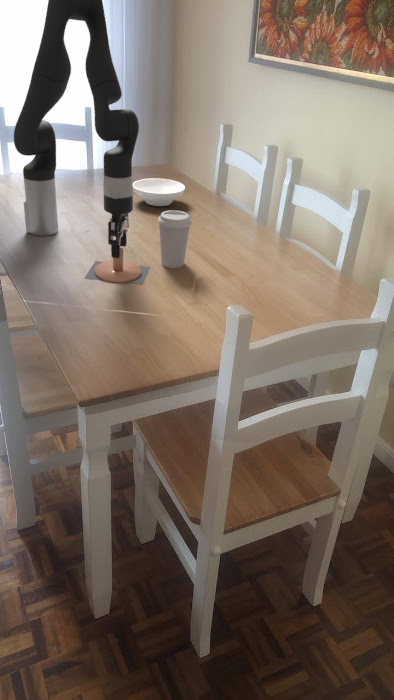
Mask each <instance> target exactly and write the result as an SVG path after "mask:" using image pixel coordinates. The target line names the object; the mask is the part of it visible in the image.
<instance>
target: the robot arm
mask: <svg viewBox="0 0 394 700" xmlns="http://www.w3.org/2000/svg"><path fill="white" fill-rule="evenodd" d="M46 7H47V9H46V14H45V20H44V25H43V26H44V27H43V32H42V36H41V41H40V44H39V48H38V51H37V55H36V58H35V62H34V65H33V69H32V75H31V78H30V83H29V86H28V89H27V94H26V97H25V100H24V102H23V106H22V108H21V111H20V114H19V116H18V118H17V121H16V124H15V126H14V130H13V144H14V147H15V149H16V151H17V152H18V154H20V155H22V156H34V157H33V158H32V160H31V161H30V162H28V163H27V164H25V165H24V166H23V169H22V173H23V185H24V195H25V201H24V202H23V210H24V211H23V212H24V220H25V221H24V222H25V223H24V224H25V231H26V233H29V234H31V235H33V236H42V237H44V236H45V237H46V236H47V237H48V236H52V235H55V234H57V233H58V232H59V221H58V203H57V189H56V188H57V187H56V177H55V176H56V175H55V174H56V173H55V172H56V168H57V143H56V142H57V140H56V139H57V138H56V132H55V130H54V128H53V126H52V124H51V123H50V122H49V121H47V120H44V118H45V116H46V115H48V113H49V112H50V111H51V110H52V109H53V108H54V106H55V105H57V103H58V102H59V101H60V100H61V98H62V97H63V96H64V94H65V92H66V91H67V87H68V84H69V81H70V77H71V73H72V64H71V60H70V57H69V53H68V50H67V47H66V44H65V32H66V28H67V24H68V22H69V20H73V21H80V22H81V21H82V22H84V23H85V24H86V27H87V30H88V32H89V33H88V34H89V44H88V50H87V54H86V57H85V74H86V78H87V81H88V84H89V87H90V91H91V95H92V98H93V100H92V101H93V110H94V129H95V132H96V134H97V136H98V137H99V139H101V140H102V141H104V142H116V141H117V142H118V143H117V144H116V146H115V147H112V148H111V149H108V150H106V151H105V152H104V153H103V181H102V182H103V185H102V186H103V209H104V211H105V212H106V213H109V214H111V218H110V219H109V221H108V223H107V225H108V227H107V228H108V229H107V231H108V232H107V233H108V235H107V236H108V237H107V238H108V241H107V243H108V245H110V246H111V247H110V249H111V252H110V253H111V255H110V256H111V258H112V259H113V258H119V257H120V248H121V247H126V246H127V244H128V243H127V233H128V229H129V227H130V226H129V213H131V212H132V211H133V210H134V189H133V183H134V182H133V175H132V172H133V171H132V170H133V169H132V165H133V163H132V162H133V155H134V152H135V147H136V143H137V140H138V136H139V132H140V131H139V130H140V129H139V128H140V124H139V119H138V117H137V115H136V113H135V112H134V111H133V110H131V109H128V108H123V109H110V105H112V104H115V103H118V101H120V100H121V98H122V88H121V85H120V83H119V82H120V81H119V79H118V75H117V71H116V70H115V66H114V62H113V59H112V54H111V49H110V42H109V35H108V28H107V22H106V14H105V9H104V3H103V0H48V2H47V6H46ZM114 237H115V239H114Z"/></svg>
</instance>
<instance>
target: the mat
mask: <svg viewBox="0 0 394 700" xmlns="http://www.w3.org/2000/svg"><path fill="white" fill-rule="evenodd" d="M103 262H104V261H98V260H95V261H94V263H93V264H92V266H91V267H90V268H89V270H88V271H87V273H86V275H85V277H84V279H86V280H87V279H88V280H96V281H105V280H102V279H100V278H98V277H97V276H96V275H95V272H94V269H95V267H96V266H97V265H98V264H100V263H103ZM137 265H138V266H140V268H141V270H142V274H141V276H140V277H139V278H137V279H135V280H132V281H128V282H122V283H124V284H125V283H126V284H135V285H144V282H145V280H146V278H147V275H148V273H149V270H150V268H151V266H147V265H139V264H137ZM105 282H106V281H105Z"/></svg>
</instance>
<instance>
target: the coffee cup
mask: <svg viewBox="0 0 394 700" xmlns="http://www.w3.org/2000/svg"><path fill="white" fill-rule="evenodd" d="M157 223H158V224H159V237H160V239H159V240H160V242H159V243H160V256H161V257H160V258H161V259H160V260H161V265H162V266H164V267H165V268H168V269H169V268H170V269H178V268H180V269H181V268H183V266H184V264H185V259H186V253H187V245H188V240H189V239H188V238H189V232H190V227H191V225H192V224H193V223H192V219H191V218H190V215H189V214H188V213H187V212H186V211H182V210H174V209H173V210H171V209H170V210H164V211H163V212H161V213H160V215H159V217H158V219H157Z"/></svg>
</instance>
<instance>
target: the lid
mask: <svg viewBox="0 0 394 700" xmlns="http://www.w3.org/2000/svg"><path fill="white" fill-rule="evenodd" d="M102 262H103V263H100V264H98V265H97V266H96V267H95V269H94V272H95V275H96V276H97V277H98V278H100V279H102V280H101V281H104V280H105V282H110V283H123V282H128V281H132V280H135V279H137V278H139V277H140V276H141V274H142V270H141V268H140V266H141V265H139V264H136V263H135V262H131V261H128V260H124V248H122V247H120V257H119V258H113V257H112V260H107V261H102ZM138 265H139V266H138Z"/></svg>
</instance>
